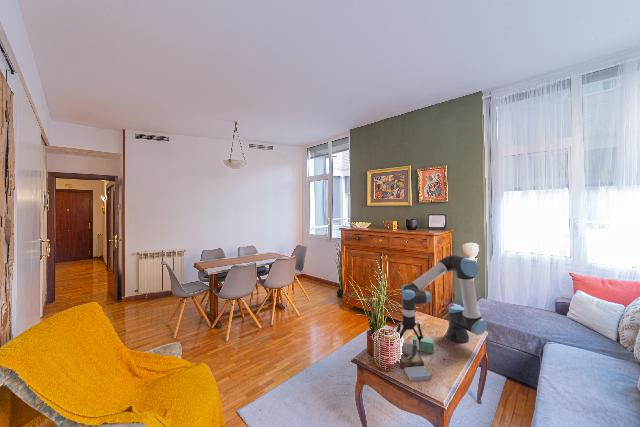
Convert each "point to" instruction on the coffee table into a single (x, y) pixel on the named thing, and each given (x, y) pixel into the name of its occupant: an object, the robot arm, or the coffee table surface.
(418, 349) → the robot arm
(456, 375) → the coffee table surface
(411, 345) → the ceramic mug
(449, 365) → the coffee table surface
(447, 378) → the coffee table surface
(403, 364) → the walnut riser
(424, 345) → the box
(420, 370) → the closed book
